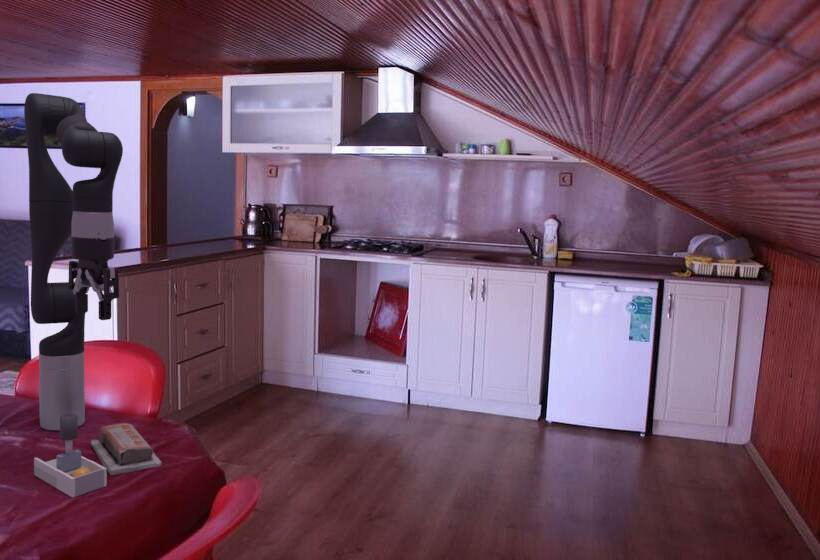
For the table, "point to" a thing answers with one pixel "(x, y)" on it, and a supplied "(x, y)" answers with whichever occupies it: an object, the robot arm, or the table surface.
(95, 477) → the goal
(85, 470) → the ball
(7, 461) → the table surface
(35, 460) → the tray
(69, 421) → the striker
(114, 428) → the packaged product
